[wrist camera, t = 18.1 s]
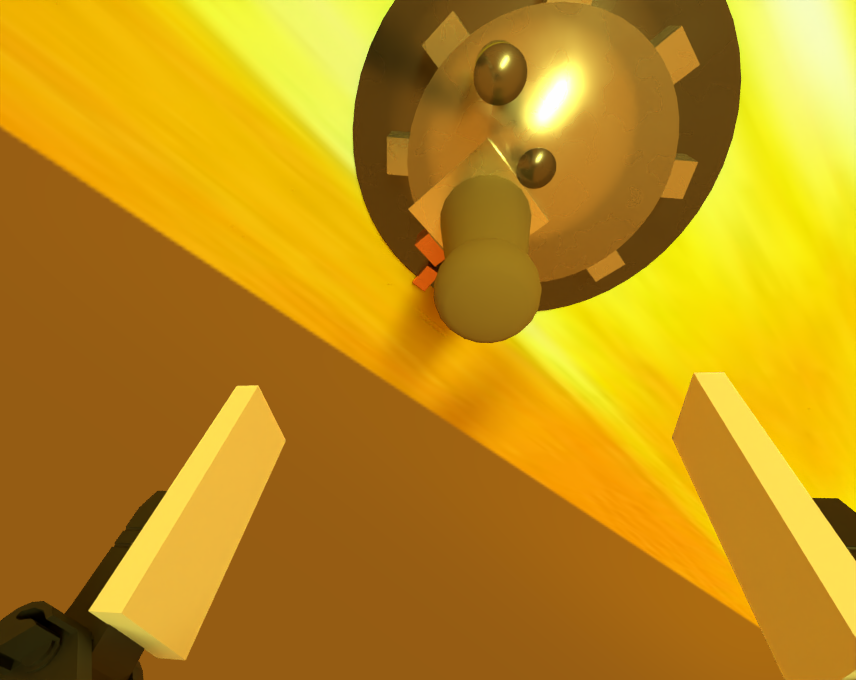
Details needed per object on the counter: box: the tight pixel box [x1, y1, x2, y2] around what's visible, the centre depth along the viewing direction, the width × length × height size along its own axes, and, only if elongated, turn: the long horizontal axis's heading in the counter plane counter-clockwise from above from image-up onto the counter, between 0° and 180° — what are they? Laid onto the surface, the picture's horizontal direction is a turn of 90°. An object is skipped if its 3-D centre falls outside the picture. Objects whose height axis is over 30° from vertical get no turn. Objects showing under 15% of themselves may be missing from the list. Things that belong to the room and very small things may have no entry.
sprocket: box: [387, 0, 700, 282], centre depth 25 cm, size 19×19×7 cm
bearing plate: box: [353, 0, 741, 311], centre depth 28 cm, size 24×24×1 cm
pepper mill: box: [434, 175, 542, 343], centre depth 24 cm, size 6×6×11 cm
